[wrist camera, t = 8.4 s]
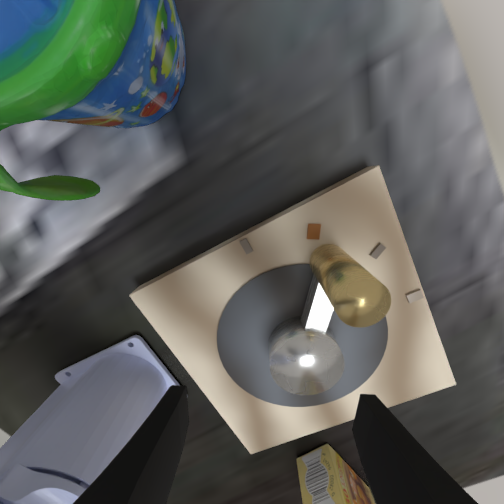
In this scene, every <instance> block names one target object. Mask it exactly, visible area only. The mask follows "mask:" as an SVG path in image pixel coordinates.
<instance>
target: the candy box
mask: <svg viewBox="0 0 504 504" xmlns="http://www.w3.org/2000/svg"><path fill="white" fill-rule="evenodd" d="M296 461H297V467H298V474H299V481H300V487H301V495H302V502H303V504H375V502H374V499H373V496H372V494H371V491H370V488H369V487H368V486H367V485H366V484H365V483H364V482H363V480H362V479H361V478H360V477H359V476H358V475H357V474H356V473H355V472H354V471H353V470H352V469H351V467H350V466H349V465H348V464H347V463H346V462H345V461H344V460H343V459H342V458H341V457H340V456H339V455H338V454H337V453H336V452H335V451H334V450H333V448H332V447H331V446H330V445H329V444H325V445H323V446H321V447H319V448H317V449H315V450H313V451H311V452H309V453H307V454H305V455H303V456H301V457H298V458H297V460H296Z"/></svg>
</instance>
